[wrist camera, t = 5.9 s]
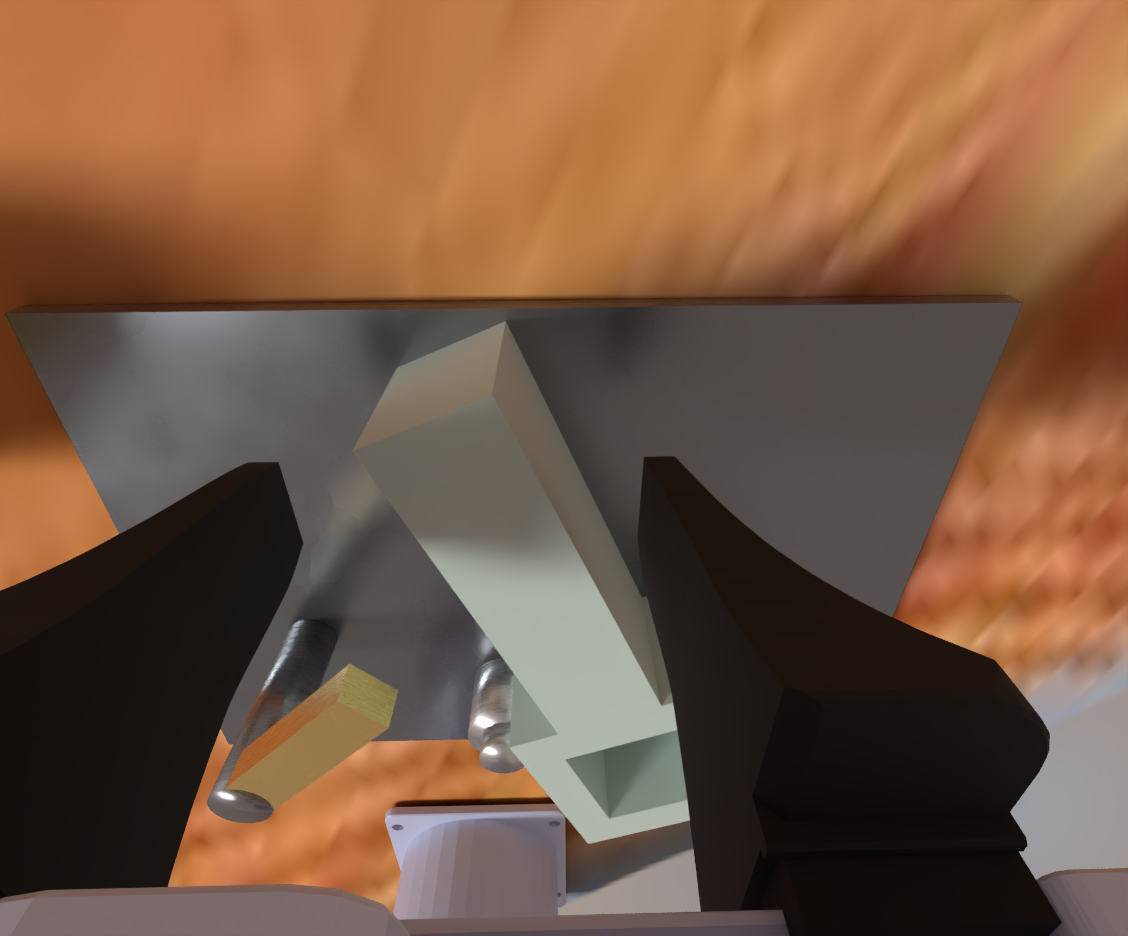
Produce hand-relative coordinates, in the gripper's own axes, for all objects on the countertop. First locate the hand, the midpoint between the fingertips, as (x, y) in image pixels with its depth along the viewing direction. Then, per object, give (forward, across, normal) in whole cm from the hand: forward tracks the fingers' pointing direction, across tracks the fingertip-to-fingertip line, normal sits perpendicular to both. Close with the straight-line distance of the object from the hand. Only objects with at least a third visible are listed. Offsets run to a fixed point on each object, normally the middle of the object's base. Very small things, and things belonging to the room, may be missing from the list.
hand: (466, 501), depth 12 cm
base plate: (+5, -1, +6) cm, 8 cm away
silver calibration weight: (+5, 0, +11) cm, 12 cm away
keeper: (+5, +5, +7) cm, 9 cm away
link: (+4, -2, +6) cm, 7 cm away
